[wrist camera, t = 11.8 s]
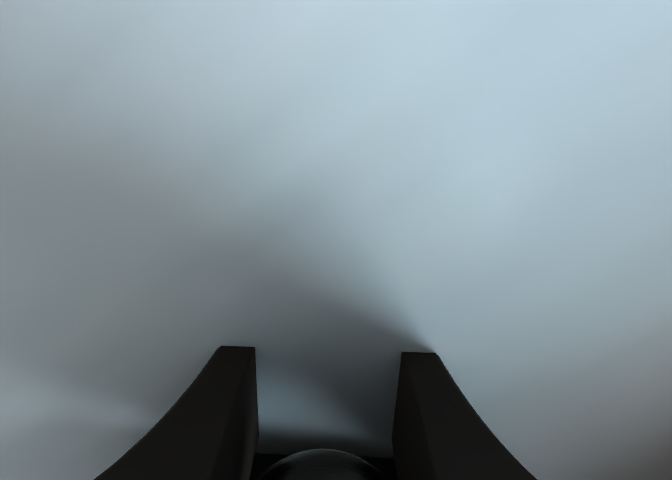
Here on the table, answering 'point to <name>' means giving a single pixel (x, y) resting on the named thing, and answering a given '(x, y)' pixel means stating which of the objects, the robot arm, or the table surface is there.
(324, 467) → the lever
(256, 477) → the black lever mount
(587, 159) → the table surface
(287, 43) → the table surface
